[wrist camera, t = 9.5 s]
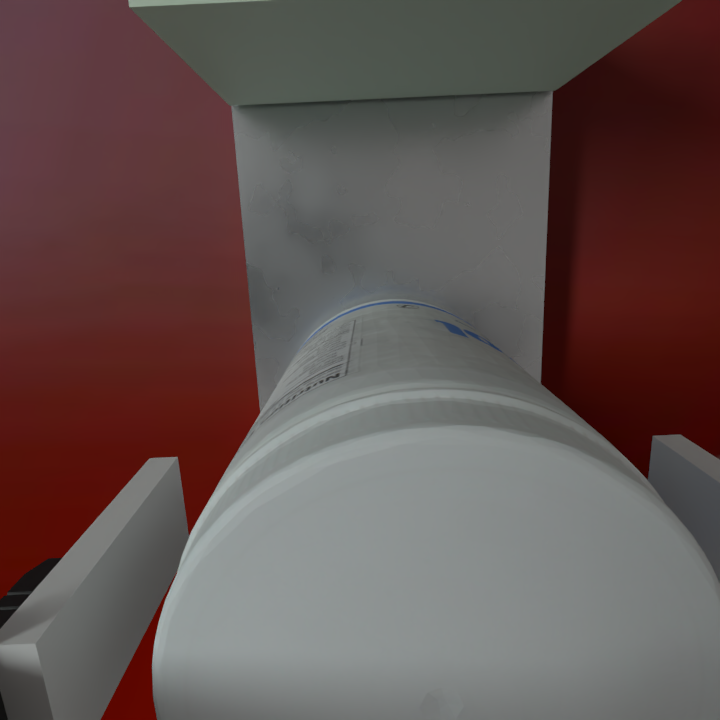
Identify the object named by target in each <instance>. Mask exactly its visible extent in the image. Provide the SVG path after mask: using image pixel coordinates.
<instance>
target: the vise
mask: <svg viewBox="0 0 720 720" xmlns="http://www.w3.org/2000/svg"><path fill="white" fill-rule="evenodd" d="M552 98H553V91H535V92H513V93H491V94H470V95H448V96H427V97H405V98H383V99H362V100H340V101H319V102H297V103H275V104H254V105H232V116H233V127H234V137H235V148H236V159H237V169H238V180H239V191H240V201H241V212H242V223H243V233H244V244H245V254H246V265H247V276H248V286H249V297H250V308H251V318H252V329H253V340H254V350H255V361H256V372H257V382H258V393H259V403H260V413H261V411H262V410H263V408H264V406H265V405H266V403H267V401H268V400H269V398H270V396H271V395H272V393H273V391H274V390H275V388H276V386H277V385H278V383H279V381H280V380H281V378H282V376H283V375H284V373H285V371H286V370H287V368H288V366H289V365H290V363H291V361H292V360H293V358H294V357H295V355H296V354H297V352H298V351H299V349H300V348H301V346H302V345H303V344H304V343H305V341H306V340H307V339H308V338H309V336H310V335H311V334H312V333H313V332H314V331H315V330H316V329H317V328H319V327H320V326H321V325H322V324H324V323H325V322H326V321H328V320H329V319H331V318H332V317H334V316H336V315H337V314H339V313H341V312H343V311H345V310H347V309H350V308H352V307H355V306H358V305H361V304H364V303H368V302H373V301H378V300H387V299H408V300H414V301H420V302H424V303H428V304H431V305H434V306H437V307H440V308H442V309H444V310H447V311H449V312H451V313H453V314H455V315H457V316H458V317H460V318H462V319H463V320H465V321H466V322H468V323H469V324H470V325H472V326H473V327H474V328H476V329H477V330H478V331H479V332H480V333H482V334H483V335H484V336H485V337H486V338H488V339H489V340H490V341H491V342H492V343H493V344H494V345H496V346H497V347H498V348H499V349H500V350H501V351H503V352H504V353H505V354H506V355H508V356H509V357H510V358H511V359H512V360H513V361H515V362H516V363H517V364H518V365H519V366H520V367H522V368H523V369H524V370H525V371H526V372H527V373H529V374H530V375H531V376H532V377H533V378H534V379H536V380H537V381H538V382H539V383H540V384H541V364H542V340H543V316H544V292H545V268H546V243H547V219H548V195H549V171H550V147H551V122H552Z"/></svg>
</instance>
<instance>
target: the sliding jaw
mask: <svg viewBox="0 0 720 720" xmlns="http://www.w3.org/2000/svg"><path fill="white" fill-rule="evenodd" d="M128 1H129V7H130V8H131V9H132V10H133V11H134V12H135V13H136V14H137V15H138V16H139V17H140V18H141V19H142V20H143V21H144V22H145V23H146V24H147V25H148V26H149V27H150V28H151V29H152V30H153V31H154V32H155V33H156V34H157V35H158V36H159V37H160V38H161V39H162V40H163V41H164V42H165V43H166V44H167V45H168V46H169V47H170V48H171V49H173V50H174V51H175V52H176V53H177V54H178V55H179V56H180V57H181V58H182V59H183V60H184V61H185V62H186V63H187V64H188V65H189V66H190V67H191V68H192V69H193V70H194V71H195V72H196V73H197V74H198V75H199V76H200V77H201V78H202V79H203V80H204V81H205V82H206V83H207V84H208V85H209V86H210V87H211V88H212V89H213V90H214V91H215V92H216V93H217V94H218V95H219V96H220V97H221V98H223V99H224V100H225V101H226V102H227V103H228V104H229V105H230V106H232V105H254V104H275V103H297V102H319V101H340V100H362V99H383V98H405V97H427V96H448V95H470V94H491V93H513V92H535V91H556V90H557V89H559V88H560V87H561V86H563V85H564V84H566V83H567V82H568V81H570V80H571V79H573V78H574V77H575V76H577V75H578V74H580V73H581V72H582V71H584V70H585V69H587V68H588V67H589V66H591V65H592V64H594V63H595V62H596V61H598V60H599V59H601V58H602V57H603V56H605V55H606V54H608V53H609V52H610V51H612V50H613V49H615V48H616V47H617V46H619V45H620V44H622V43H623V42H624V41H626V40H627V39H629V38H630V37H631V36H633V35H634V34H636V33H637V32H638V31H640V30H641V29H643V28H644V27H645V26H647V25H648V24H650V23H651V22H652V21H654V20H655V19H657V18H658V17H659V16H661V15H662V14H664V13H665V12H667V11H668V10H669V9H671V8H672V7H674V6H675V5H676V4H678V3H679V2H681V1H682V0H128Z"/></svg>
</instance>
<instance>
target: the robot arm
mask: <svg viewBox="0 0 720 720" xmlns="http://www.w3.org/2000/svg"><path fill="white" fill-rule="evenodd" d="M648 482H649V483H650V484H651V485H652V486H653V488H654V489H655V490H656V491H657V493H658V494H659V496H660V497H661V498H662V500H663V501H664V503H665V504H666V505H667V506H668V507H669V508H670V509H671V510H672V511H673V513H674V514H675V515H676V516H677V517H678V518H679V520H680V521H681V522H682V523H683V524H684V525H685V527H686V528H687V529H688V530H689V531H690V533H691V534H692V535H693V537H694V538H695V540H696V541H697V543H698V544H699V546H700V547H701V549H702V550H703V551H704V553H705V555H706V557H707V558H708V560H709V562H710V564H711V566H712V568H713V570H714V572H715V574H716V576H717V579H718V581H719V583H720V460H719V459H718V458H716V457H715V456H713V455H712V454H710V453H708V452H707V451H705V450H704V449H702V448H701V447H699V446H697V445H696V444H694V443H693V442H691V441H690V440H688V439H687V438H685V437H683V436H682V435H659V436H653V437H652V447H651V456H650V466H649V475H648ZM188 539H189V534H188V527H187V520H186V513H185V506H184V499H183V492H182V485H181V477H180V470H179V463H178V457H167V458H150V459H149V460H148V461H147V462H146V463H145V464H144V466H143V467H142V468H141V469H140V470H139V471H138V472H137V473H136V475H135V476H134V477H133V478H132V479H131V480H130V481H129V483H128V484H127V485H126V486H125V487H124V488H123V489H122V491H121V492H120V493H119V494H118V495H117V496H116V497H115V499H114V500H113V501H112V502H111V503H110V504H109V505H108V507H107V508H106V509H105V510H104V511H103V512H102V513H101V515H100V516H99V517H98V518H97V519H96V520H95V521H94V523H93V524H92V525H91V526H90V527H89V528H88V529H87V530H86V532H85V533H84V534H83V535H82V536H81V537H80V538H79V540H78V541H77V542H76V543H75V544H74V545H73V546H72V548H71V549H70V550H69V551H68V552H67V553H66V554H65V556H64V557H63V558H51V559H47V560H46V561H44V562H43V563H41V564H40V565H38V566H36V567H35V568H33V569H32V570H30V571H29V572H27V573H26V574H24V575H23V577H22V578H21V579H20V580H19V581H18V582H17V583H16V584H15V585H14V586H13V587H12V588H11V589H10V590H9V591H8V594H7V596H4V597H3V598H2V599H1V600H0V720H100V719H101V717H102V715H103V713H104V711H105V710H106V708H107V706H108V704H109V702H110V700H111V698H112V696H113V694H114V692H115V690H116V688H117V686H118V684H119V682H120V680H121V678H122V676H123V674H124V672H125V671H126V669H127V667H128V665H129V663H130V661H131V659H132V657H133V655H134V653H135V651H136V649H137V647H138V645H139V643H140V641H141V639H142V637H143V635H144V634H145V632H146V630H147V628H148V626H149V624H150V622H151V620H152V618H153V616H154V614H155V612H156V610H157V608H158V606H159V604H160V602H161V600H162V598H163V597H164V595H165V593H166V591H167V589H168V587H169V585H170V583H171V581H172V579H173V577H174V575H175V573H176V571H177V569H178V567H179V564H180V560H181V557H182V554H183V551H184V549H185V546H186V544H187V541H188Z"/></svg>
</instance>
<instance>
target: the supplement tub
mask: <svg viewBox="0 0 720 720" xmlns="http://www.w3.org/2000/svg"><path fill="white" fill-rule="evenodd" d="M152 678H153V699H154V705H155V710H156V715H157V720H720V583H719V581H718V579H717V576H716V574H715V572H714V570H713V568H712V566H711V564H710V562H709V560H708V558H707V557H706V555H705V553H704V551H703V550H702V549H701V547H700V546H699V544H698V543H697V541H696V540H695V538H694V537H693V535H692V534H691V533H690V531H689V530H688V529H687V528H686V527H685V525H684V524H683V523H682V522H681V521H680V520H679V518H678V517H677V516H676V515H675V514H674V513H673V511H672V510H671V509H670V508H669V507H668V506H667V505H666V504H665V503H664V501H663V500H662V498H661V497H660V496H659V494H658V493H657V491H656V490H655V489H654V488H653V486H652V485H651V484H650V483H649V482H648V480H647V479H646V478H645V477H644V476H643V475H642V473H641V472H640V471H639V470H638V469H637V468H636V467H635V466H634V465H633V464H632V463H631V462H630V461H629V460H628V459H627V458H626V457H625V456H623V455H622V454H621V453H620V452H619V451H618V450H617V449H616V448H615V447H614V446H613V445H612V444H611V443H610V442H609V441H608V440H607V439H605V438H604V437H603V436H602V435H601V434H600V433H598V432H597V431H596V430H595V429H594V428H592V427H591V426H590V425H589V424H588V423H587V422H585V421H584V420H583V419H582V418H581V417H580V416H578V415H577V414H576V413H575V412H574V411H573V410H571V409H570V408H569V407H568V406H567V405H566V404H564V403H563V402H562V401H561V400H560V399H558V398H557V397H556V396H555V395H554V394H552V393H551V392H550V391H549V390H548V389H546V388H545V387H544V386H543V385H542V384H540V383H539V382H538V381H537V380H536V379H534V378H533V377H532V376H531V375H530V374H529V373H527V372H526V371H525V370H524V369H523V368H522V367H520V366H519V365H518V364H517V363H516V362H515V361H513V360H512V359H511V358H510V357H509V356H508V355H506V354H505V353H504V352H503V351H501V350H500V349H499V348H498V347H497V346H496V345H494V344H493V343H492V342H491V341H490V340H489V339H488V338H486V337H485V336H484V335H483V334H482V333H480V332H479V331H478V330H477V329H476V328H474V327H473V326H472V325H470V324H469V323H468V322H466V321H465V320H463V319H462V318H460V317H458V316H457V315H455V314H453V313H451V312H449V311H447V310H444V309H442V308H440V307H437V306H434V305H431V304H428V303H424V302H420V301H414V300H408V299H387V300H378V301H373V302H368V303H364V304H361V305H358V306H355V307H352V308H350V309H347V310H345V311H343V312H341V313H339V314H337V315H336V316H334V317H332V318H331V319H329V320H328V321H326V322H325V323H324V324H322V325H321V326H320V327H319V328H317V329H316V330H315V331H314V332H313V333H312V334H311V335H310V336H309V338H308V339H307V340H306V341H305V343H304V344H303V345H302V346H301V348H300V349H299V351H298V352H297V354H296V355H295V357H294V358H293V360H292V361H291V363H290V365H289V366H288V368H287V370H286V371H285V373H284V375H283V376H282V378H281V380H280V381H279V383H278V385H277V386H276V388H275V390H274V391H273V393H272V395H271V396H270V398H269V400H268V401H267V403H266V405H265V406H264V408H263V410H262V411H261V413H260V415H259V416H258V418H257V420H256V421H255V423H254V425H253V426H252V428H251V430H250V431H249V433H248V435H247V436H246V438H245V440H244V441H243V443H242V444H241V446H240V448H239V449H238V451H237V453H236V455H235V456H234V458H233V460H232V461H231V463H230V465H229V466H228V468H227V470H226V471H225V473H224V475H223V477H222V478H221V480H220V482H219V484H218V486H217V487H216V489H215V491H214V493H213V494H212V496H211V498H210V500H209V501H208V503H207V505H206V507H205V508H204V510H203V512H202V513H201V515H200V517H199V519H198V521H197V522H196V524H195V526H194V528H193V530H192V532H191V534H190V536H189V539H188V541H187V544H186V546H185V549H184V551H183V554H182V557H181V560H180V564H179V568H178V572H177V575H176V577H175V579H174V582H173V584H172V586H171V588H170V591H169V593H168V595H167V597H166V600H165V603H164V606H163V610H162V613H161V616H160V619H159V623H158V628H157V632H156V637H155V642H154V651H153V660H152Z"/></svg>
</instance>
